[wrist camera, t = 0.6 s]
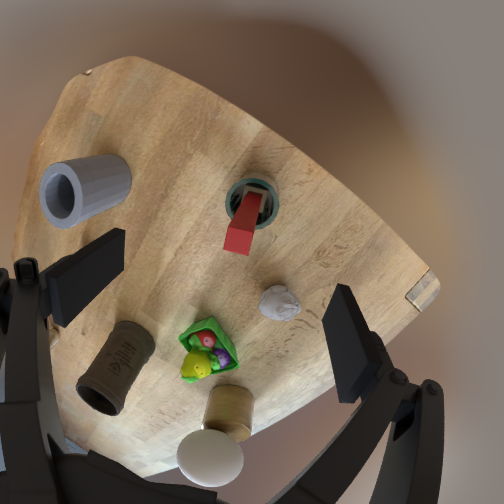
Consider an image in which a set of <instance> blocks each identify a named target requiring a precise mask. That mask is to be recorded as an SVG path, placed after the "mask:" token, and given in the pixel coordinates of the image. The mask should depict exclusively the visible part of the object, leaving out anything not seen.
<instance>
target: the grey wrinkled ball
mask: <svg viewBox="0 0 504 504" xmlns="http://www.w3.org/2000/svg"><path fill="white" fill-rule="evenodd" d="M258 308H259V310H260V311H261V313H262V314H263V315H265V316H267V317H269V318H272V319H274V320H278V321H280V320H283V321H290V320H291V319H292V318H293V317H294V316H295V315H296V314H298V313H299V312H300V311H301V304H300V301H299V300H298V298H297V297H296V296H295V294H294V293H293V292H292V291H291V290H288V289H287V288H286V287H284V286H281V285H274V286H271V287H270V288H268V289H267V290H266V291H264V292H263V293H262V295H261V302H260V303H259V306H258Z"/></svg>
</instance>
